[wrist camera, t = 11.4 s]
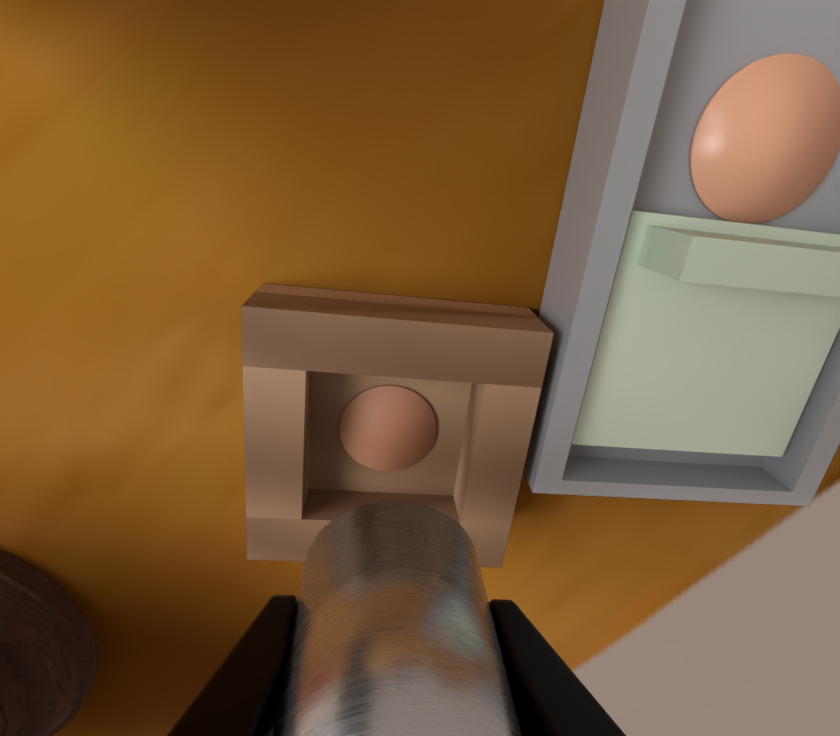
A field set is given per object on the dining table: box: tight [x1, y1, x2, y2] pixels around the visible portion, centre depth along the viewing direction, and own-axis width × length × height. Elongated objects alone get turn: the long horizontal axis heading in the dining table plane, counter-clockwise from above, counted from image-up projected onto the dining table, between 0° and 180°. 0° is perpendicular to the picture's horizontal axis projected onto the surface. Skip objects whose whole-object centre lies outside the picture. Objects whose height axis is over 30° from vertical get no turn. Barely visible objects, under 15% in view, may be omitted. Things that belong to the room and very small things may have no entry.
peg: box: [272, 501, 522, 736], centre depth 8 cm, size 4×4×6 cm
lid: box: [571, 210, 840, 457], centre depth 14 cm, size 7×7×3 cm
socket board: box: [241, 283, 554, 567], centre depth 15 cm, size 8×8×2 cm
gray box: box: [523, 0, 840, 506], centre depth 14 cm, size 14×9×3 cm, turn 174°
